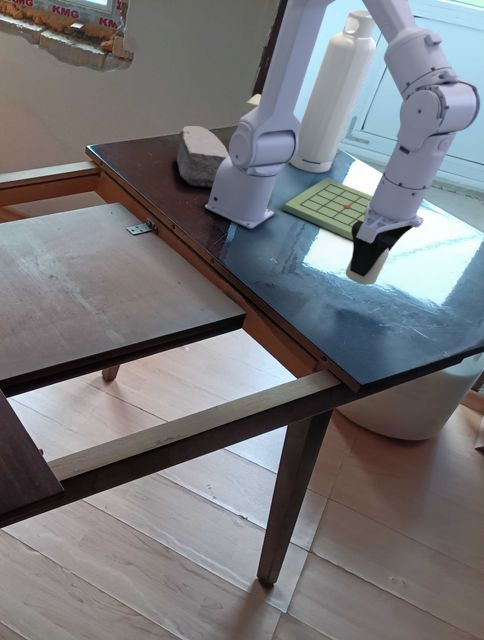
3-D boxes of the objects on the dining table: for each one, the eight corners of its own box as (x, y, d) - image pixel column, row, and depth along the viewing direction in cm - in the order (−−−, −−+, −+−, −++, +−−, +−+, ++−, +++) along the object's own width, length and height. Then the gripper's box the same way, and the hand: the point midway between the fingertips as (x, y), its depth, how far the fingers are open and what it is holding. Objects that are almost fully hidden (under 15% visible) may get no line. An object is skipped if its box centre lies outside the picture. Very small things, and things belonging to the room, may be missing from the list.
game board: (282, 209, 122) (284, 203, 121) (323, 183, 131) (325, 176, 130) (368, 247, 114) (371, 240, 113) (406, 216, 123) (409, 210, 122)
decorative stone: (196, 197, 124) (241, 187, 127) (203, 162, 120) (250, 152, 123) (153, 162, 135) (196, 154, 138) (158, 129, 130) (202, 121, 133)
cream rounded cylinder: (340, 275, 98) (356, 238, 94) (353, 264, 100) (369, 228, 96) (368, 288, 96) (386, 251, 92) (380, 277, 98) (399, 240, 94)
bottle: (339, 169, 136) (398, 19, 118) (307, 174, 134) (363, 22, 115) (311, 152, 142) (364, 5, 123) (280, 156, 139) (329, 8, 121)
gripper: (415, 209, 82) (370, 299, 91) (458, 174, 90) (412, 260, 99) (359, 186, 85) (321, 276, 94) (405, 154, 93) (366, 239, 102)
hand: (364, 266), depth 97 cm, fingers closed on cream rounded cylinder, 4 cm apart
